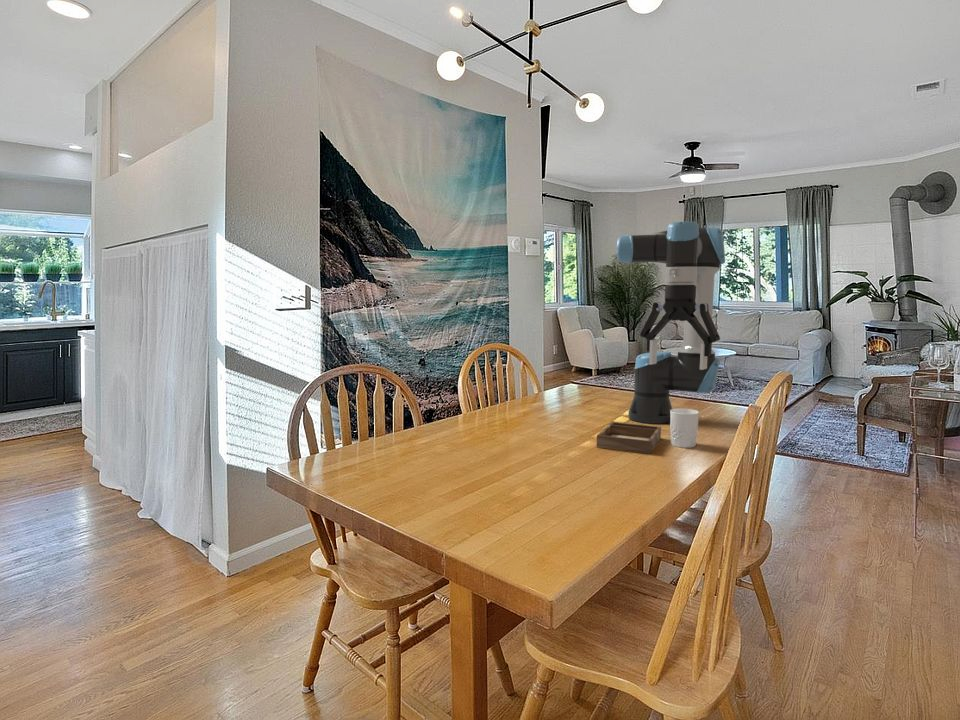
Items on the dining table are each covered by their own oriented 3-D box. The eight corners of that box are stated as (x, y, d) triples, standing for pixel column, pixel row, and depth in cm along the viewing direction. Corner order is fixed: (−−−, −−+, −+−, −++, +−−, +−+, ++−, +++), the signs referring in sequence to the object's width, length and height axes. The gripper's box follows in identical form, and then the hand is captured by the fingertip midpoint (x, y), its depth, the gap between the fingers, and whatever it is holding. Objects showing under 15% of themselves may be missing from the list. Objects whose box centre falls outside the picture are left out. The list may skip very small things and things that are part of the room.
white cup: (699, 449, 160) (701, 414, 159) (670, 447, 162) (672, 413, 160) (695, 441, 168) (696, 408, 167) (667, 440, 169) (668, 407, 168)
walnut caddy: (611, 432, 178) (611, 421, 178) (660, 438, 172) (661, 426, 171) (596, 447, 162) (596, 435, 162) (650, 454, 156) (650, 441, 155)
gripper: (629, 284, 150) (626, 363, 153) (725, 284, 133) (720, 373, 136) (642, 284, 156) (640, 360, 158) (736, 283, 139) (731, 369, 141)
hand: (677, 366), depth 147 cm, fingers open, 13 cm apart
